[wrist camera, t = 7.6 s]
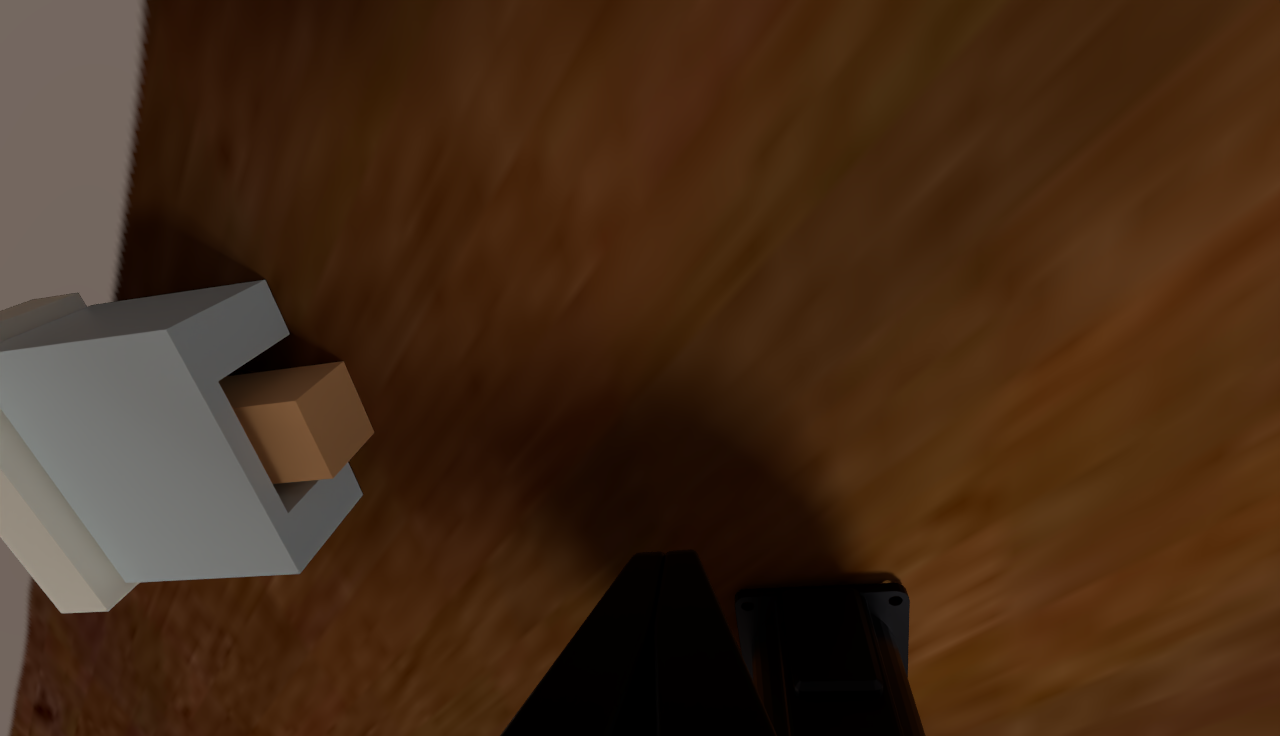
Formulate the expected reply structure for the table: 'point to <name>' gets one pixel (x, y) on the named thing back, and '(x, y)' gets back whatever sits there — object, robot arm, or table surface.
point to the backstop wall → (49, 501)
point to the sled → (166, 435)
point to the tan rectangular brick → (300, 419)
